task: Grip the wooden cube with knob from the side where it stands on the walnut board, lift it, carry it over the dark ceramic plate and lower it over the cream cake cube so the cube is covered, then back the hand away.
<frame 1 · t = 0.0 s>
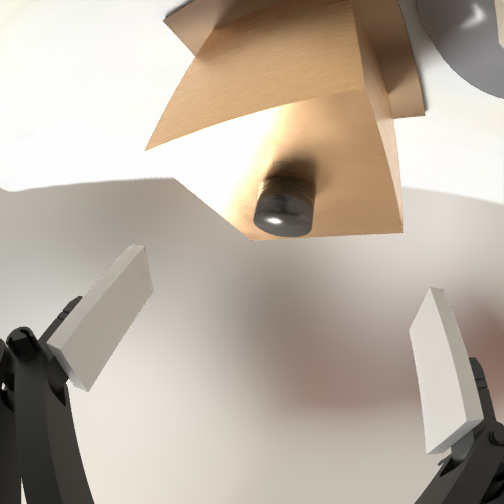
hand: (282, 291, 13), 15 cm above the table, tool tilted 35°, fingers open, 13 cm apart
board: (306, 54, 17), on the table
wooden cube with knob: (306, 57, 17), resting on board
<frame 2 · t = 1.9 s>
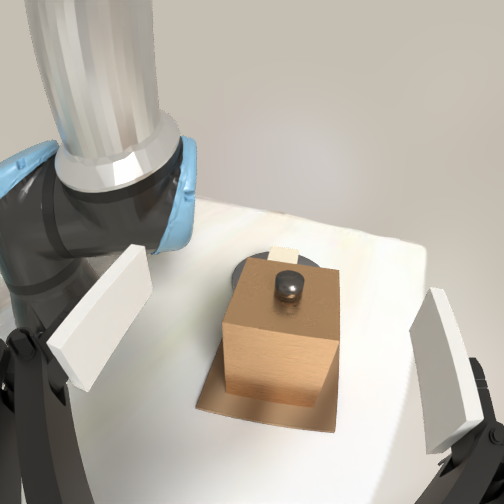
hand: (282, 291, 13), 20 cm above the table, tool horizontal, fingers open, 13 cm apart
cake cube: (280, 278, 44), point 1 cm above the table, touching plate
board: (276, 369, 32), on the table
wooden cube with knob: (276, 367, 32), resting on board
plate: (280, 283, 45), on the table
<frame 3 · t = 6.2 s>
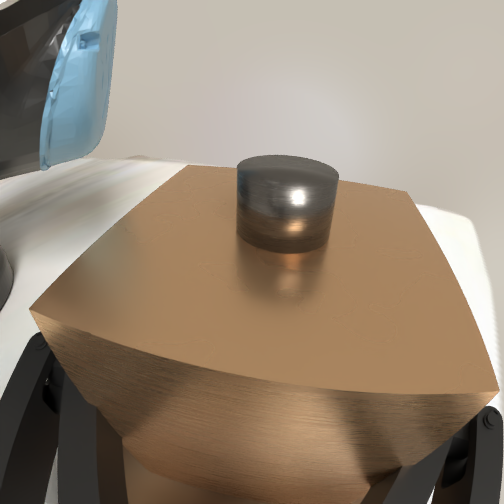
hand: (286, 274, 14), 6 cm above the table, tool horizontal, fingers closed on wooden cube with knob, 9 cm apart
board: (260, 423, 14), on the table
wooden cube with knob: (261, 420, 14), resting on board, touching gripper
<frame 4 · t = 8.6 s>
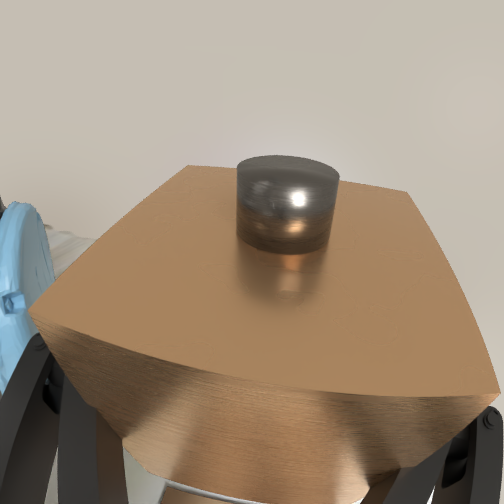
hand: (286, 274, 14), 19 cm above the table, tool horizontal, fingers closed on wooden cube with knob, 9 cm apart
wooden cube with knob: (261, 421, 14), point 12 cm above the table, touching gripper
when the fingers open (9 cm above the table, at t = 11.2 s): wooden cube with knob drops 2 cm, resting on plate.
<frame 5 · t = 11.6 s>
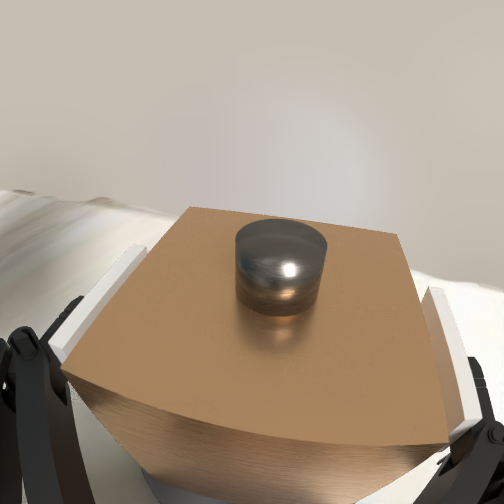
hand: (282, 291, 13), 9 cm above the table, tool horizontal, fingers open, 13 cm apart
wooden cube with knob: (258, 434, 15), point 1 cm above the table, touching plate
plate: (258, 439, 15), on the table
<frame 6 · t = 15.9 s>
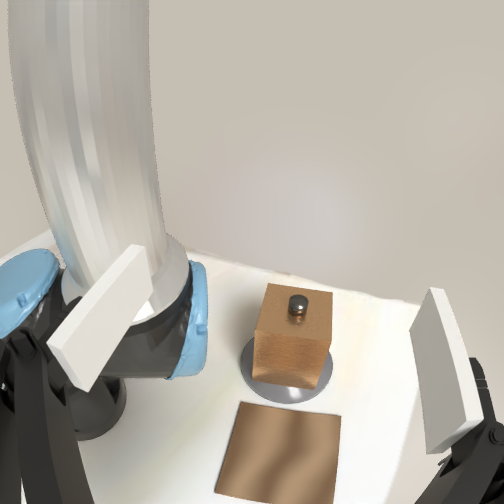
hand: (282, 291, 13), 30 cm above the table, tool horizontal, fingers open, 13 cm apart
board: (283, 456, 32), on the table
wooden cube with knob: (287, 361, 44), point 1 cm above the table, touching plate
plate: (286, 364, 44), on the table
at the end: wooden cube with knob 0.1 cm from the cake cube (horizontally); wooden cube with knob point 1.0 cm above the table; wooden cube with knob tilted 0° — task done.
